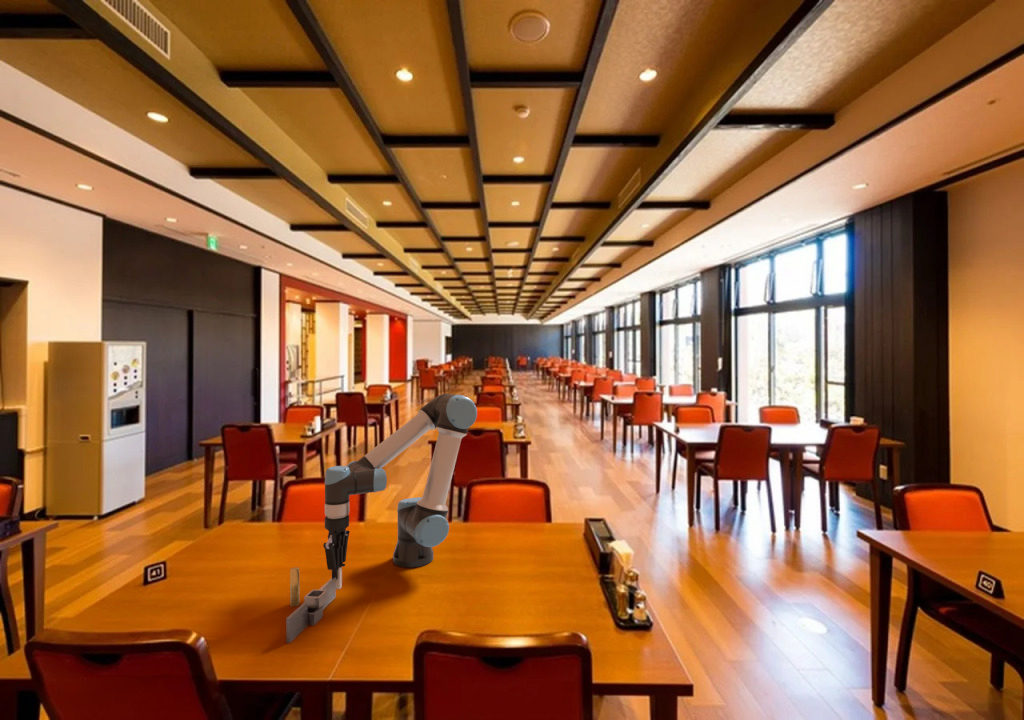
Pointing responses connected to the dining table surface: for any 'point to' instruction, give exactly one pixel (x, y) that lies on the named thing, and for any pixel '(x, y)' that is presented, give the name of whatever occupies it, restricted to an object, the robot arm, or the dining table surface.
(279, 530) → the dining table surface
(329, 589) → the leaf
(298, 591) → the pin
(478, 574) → the dining table surface
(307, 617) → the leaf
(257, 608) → the dining table surface
